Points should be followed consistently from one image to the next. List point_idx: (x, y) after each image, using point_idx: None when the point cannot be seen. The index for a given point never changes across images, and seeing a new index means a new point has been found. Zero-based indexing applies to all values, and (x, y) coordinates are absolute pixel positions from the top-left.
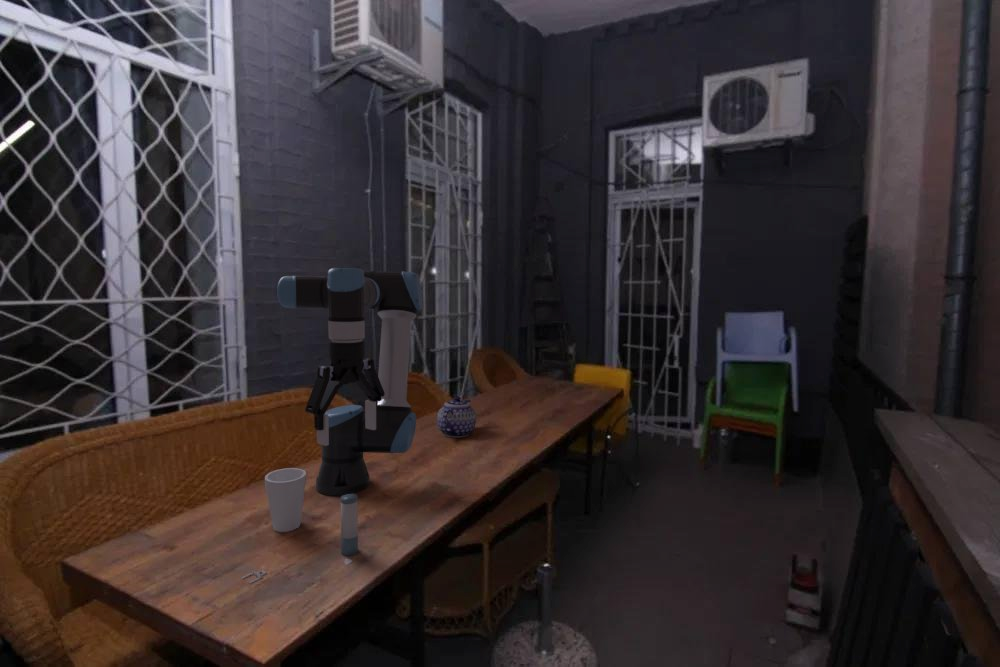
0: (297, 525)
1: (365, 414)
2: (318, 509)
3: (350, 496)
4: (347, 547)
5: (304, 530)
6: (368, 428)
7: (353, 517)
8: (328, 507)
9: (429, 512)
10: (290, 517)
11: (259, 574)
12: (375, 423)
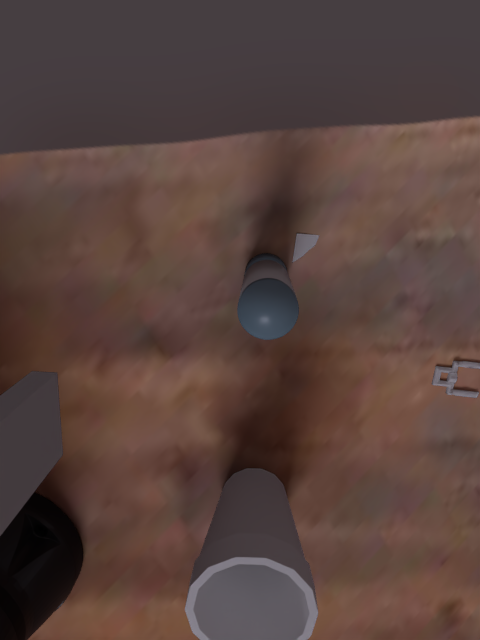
0: (249, 471)
1: (4, 526)
2: (149, 498)
3: (259, 311)
4: (285, 267)
5: (247, 446)
6: (59, 426)
7: (274, 270)
8: (126, 486)
9: None
10: (270, 490)
11: (453, 373)
12: (13, 391)
